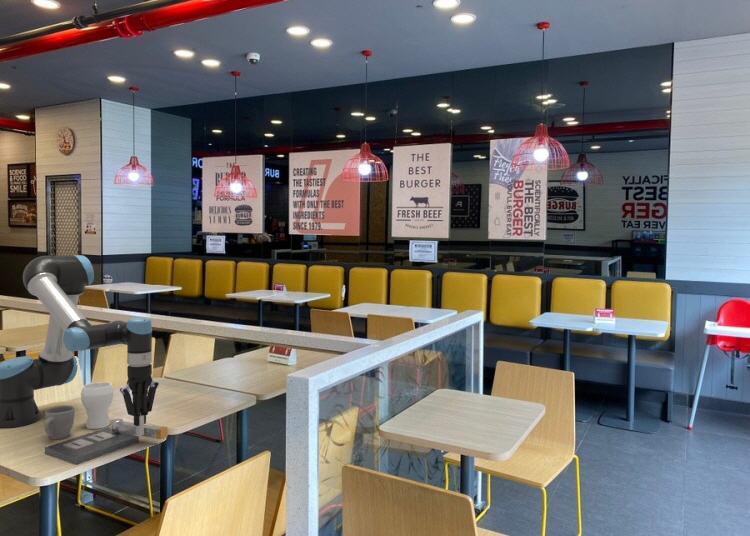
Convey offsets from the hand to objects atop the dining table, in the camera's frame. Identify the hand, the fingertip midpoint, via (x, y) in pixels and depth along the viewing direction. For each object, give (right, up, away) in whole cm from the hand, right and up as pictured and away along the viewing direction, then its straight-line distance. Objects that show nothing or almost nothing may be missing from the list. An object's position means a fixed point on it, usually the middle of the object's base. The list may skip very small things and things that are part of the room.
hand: (140, 434), depth 189 cm
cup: (-23, -2, +18) cm, 30 cm away
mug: (-31, -3, +6) cm, 31 cm away
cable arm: (-2, -1, +3) cm, 4 cm away
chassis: (-14, -4, -3) cm, 15 cm away
